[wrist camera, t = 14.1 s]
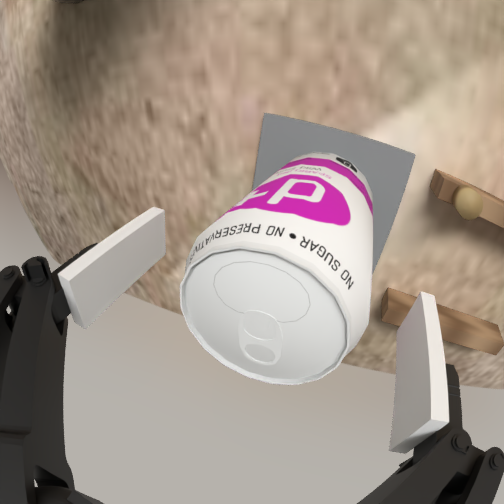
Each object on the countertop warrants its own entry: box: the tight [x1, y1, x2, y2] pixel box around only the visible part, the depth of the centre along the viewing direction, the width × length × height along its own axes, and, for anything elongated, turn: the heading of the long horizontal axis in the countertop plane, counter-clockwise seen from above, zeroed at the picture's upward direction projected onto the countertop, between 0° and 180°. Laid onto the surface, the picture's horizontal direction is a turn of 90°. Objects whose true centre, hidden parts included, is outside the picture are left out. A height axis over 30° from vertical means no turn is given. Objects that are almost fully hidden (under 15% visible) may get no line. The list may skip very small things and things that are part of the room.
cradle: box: [381, 169, 504, 355], centre depth 19 cm, size 14×13×4 cm
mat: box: [252, 113, 415, 274], centre depth 23 cm, size 12×12×1 cm
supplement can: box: [180, 152, 373, 385], centre depth 17 cm, size 8×8×15 cm
